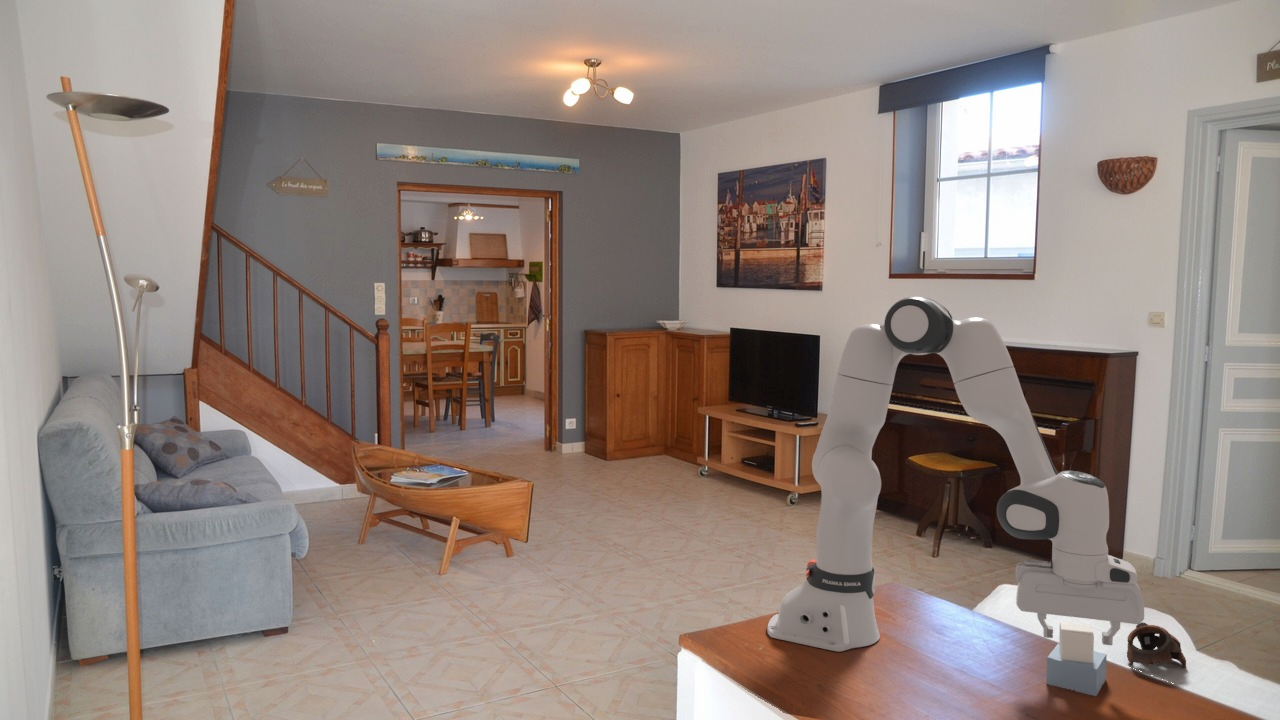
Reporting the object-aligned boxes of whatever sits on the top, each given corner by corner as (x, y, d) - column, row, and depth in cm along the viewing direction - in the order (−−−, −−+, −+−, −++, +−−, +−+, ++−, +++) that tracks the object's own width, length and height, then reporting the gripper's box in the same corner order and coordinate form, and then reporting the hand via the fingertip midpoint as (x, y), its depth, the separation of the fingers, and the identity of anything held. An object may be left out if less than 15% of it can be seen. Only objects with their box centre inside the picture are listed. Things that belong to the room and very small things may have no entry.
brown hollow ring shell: (1201, 677, 158) (1187, 643, 155) (1149, 696, 159) (1135, 663, 157) (1166, 636, 169) (1152, 603, 167) (1118, 654, 171) (1104, 622, 169)
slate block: (1046, 685, 155) (1046, 657, 154) (1057, 669, 161) (1058, 643, 161) (1096, 697, 150) (1096, 669, 150) (1105, 681, 156) (1106, 654, 156)
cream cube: (1061, 659, 154) (1061, 631, 153) (1059, 648, 158) (1059, 621, 158) (1093, 663, 152) (1093, 635, 152) (1090, 652, 157) (1090, 625, 156)
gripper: (1016, 563, 155) (1014, 639, 156) (1147, 575, 147) (1144, 655, 148) (1014, 553, 160) (1013, 626, 162) (1141, 564, 153) (1138, 641, 154)
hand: (1077, 640), depth 155 cm, fingers open, 8 cm apart
